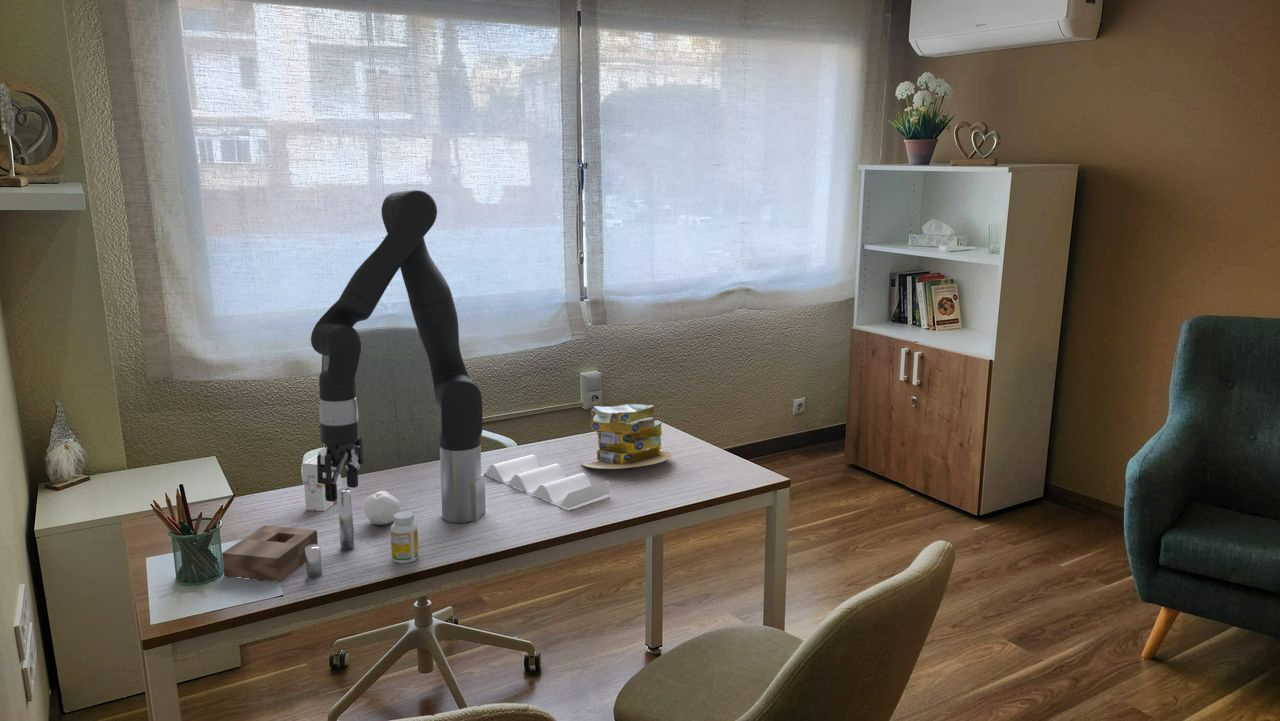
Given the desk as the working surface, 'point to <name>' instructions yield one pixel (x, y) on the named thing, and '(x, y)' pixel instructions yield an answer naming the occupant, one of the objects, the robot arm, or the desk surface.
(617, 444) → the stack of yellow boxes
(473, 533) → the desk surface
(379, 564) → the desk surface
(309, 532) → the socket block
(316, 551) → the short pin
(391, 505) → the motion sensor
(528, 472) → the white wavy rack
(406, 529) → the supplement bottle
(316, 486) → the ink cartridge box
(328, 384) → the robot arm
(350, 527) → the long pin
